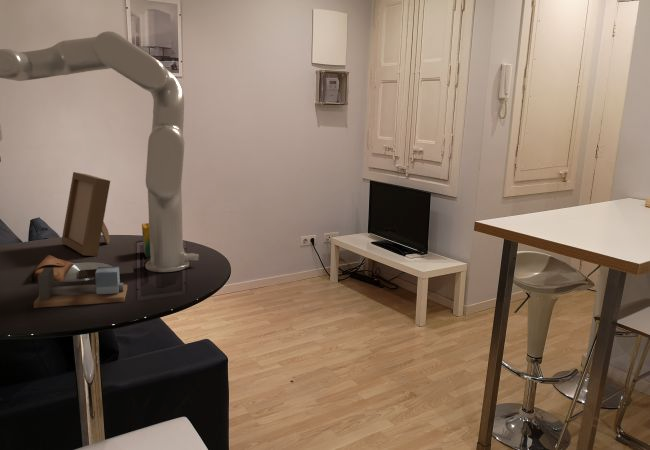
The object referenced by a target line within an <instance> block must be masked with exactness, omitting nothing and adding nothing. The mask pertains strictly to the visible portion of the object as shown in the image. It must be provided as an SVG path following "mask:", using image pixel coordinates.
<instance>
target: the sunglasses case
mask: <svg viewBox="0 0 650 450" xmlns="http://www.w3.org/2000/svg"><path fill="white" fill-rule="evenodd" d="M74 265H75V263H73V262H70V261H69V260H65V259H60V258H57V257H55V256H53V255H50V254H47V255H46V256H45V258H44V259H43V260H42V261H40V263H39V264H38V265H37V267H36V268H35V269H34V270H33V271H32V273H31V276H30V281H31V282H32V283H33V284H38V275H39V274H40V273H41V272H42V271H43V269H44V268H53V271H54V281H56V282H65V279H66V276H67V273H69V271H70V270H71V268H72V267H73V266H74Z"/></svg>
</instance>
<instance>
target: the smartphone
mask: <svg viewBox="0 0 650 450" xmlns="http://www.w3.org/2000/svg"><path fill="white" fill-rule="evenodd" d="M96 270H97V268H93V269H92V268H89V269H81V270H78V271H77V276H76V277H77V278H76V279H79V280H83V279H84V280H85V279H93V278H94V279H96V278H95V273H96ZM134 270H135V269H134V267H133V266H119V275H120V276H129V275H134V274H135V271H134Z"/></svg>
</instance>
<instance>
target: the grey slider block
mask: <svg viewBox="0 0 650 450" xmlns="http://www.w3.org/2000/svg"><path fill="white" fill-rule="evenodd" d="M119 267H120V265H118V266H116V265H115V266H100V267H99V266H98V267H97V268H96V269H97V270H96V273H95V278H94V279H95V284H96V293H97V294H113V293H118V292H119V288H118V284H119V283H121V280H120V279H121V278H120V276H121V275H119Z"/></svg>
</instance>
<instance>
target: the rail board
mask: <svg viewBox="0 0 650 450" xmlns="http://www.w3.org/2000/svg"><path fill="white" fill-rule="evenodd" d="M118 288H119V292H118V293H113V294H97V293H96V283H95V284H83V285H81V284H80V285H65V286H64V285H63V286H55V287H52V288H51V298H50V299H49V300H41V301H40V297H39V295H38V297H36V299H35V300H34V302H33V308H34V309H36V308H49V307H50V308H51V307H52V308H53V307H64V306H80V305H83V306H84V305H95V304H110V303H122V302H124V303H125V300H126V295H127V292H128V284H125V283H124V282H120V283H119V284H118Z"/></svg>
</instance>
